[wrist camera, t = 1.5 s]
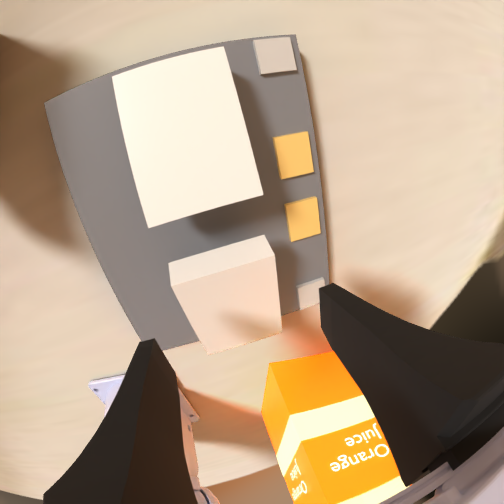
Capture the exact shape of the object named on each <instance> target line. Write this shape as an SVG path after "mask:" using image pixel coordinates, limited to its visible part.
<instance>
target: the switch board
mask: <svg viewBox="0 0 504 504" xmlns="http://www.w3.org/2000/svg"><path fill="white" fill-rule="evenodd" d="M223 46H224V49H225V53H226V56H227V60H228V63H229V67H230V70H231V74H232V77H233V81H234V85H235V88H236V92H237V95H238V99H239V103H240V106H241V110H242V114H243V117H244V121H245V125H246V129H247V132H248V136H249V140H250V144H251V148H252V152H253V155H254V159H255V163H256V167H257V171H258V175H259V179H260V183H261V187H262V191H263V195H261V196H257V197H254V198H250V199H246V200H243V201H239V202H235V203H232V204H228V205H224V206H221V207H217V208H214V209H210V210H207V211H204V212H200V213H197V214H193V215H190V216H187V217H183V218H180V219H177V220H174V221H170V222H167V223H164V224H161V225H157V226H154V227H151V228H148V225H147V222H146V219H145V216H144V212H143V209H142V205H141V202H140V198H139V195H138V191H137V188H136V184H135V180H134V176H133V173H132V169H131V165H130V161H129V157H128V153H127V148H126V144H125V140H124V135H123V131H122V126H121V122H120V117H119V112H118V107H117V102H116V97H115V91H114V86H113V80H112V76H115V75H117V74H120V73H123V72H126V71H129V70H132V69H135V68H138V67H141V66H144V65H147V64H150V63H154V62H157V61H161V60H164V59H168V58H172V57H176V56H180V55H184V54H188V53H192V52H197V51H202V50H207V49H212V48H217V47H223ZM44 105H45V110H46V114H47V118H48V122H49V126H50V130H51V133H52V137H53V141H54V144H55V148H56V151H57V154H58V158H59V161H60V164H61V167H62V170H63V173H64V176H65V179H66V182H67V185H68V188H69V191H70V193H71V196H72V199H73V201H74V204H75V207H76V209H77V212H78V214H79V217H80V219H81V222H82V224H83V227H84V229H85V231H86V234H87V236H88V238H89V241H90V243H91V245H92V248H93V250H94V252H95V254H96V256H97V259H98V261H99V263H100V265H101V267H102V269H103V271H104V273H105V275H106V277H107V279H108V281H109V283H110V285H111V287H112V289H113V291H114V293H115V295H116V297H117V299H118V301H119V302H120V304H121V306H122V308H123V310H124V312H125V313H126V315H127V317H128V319H129V321H130V322H131V324H132V326H133V328H134V329H135V331H136V333H137V334H138V336H139V338H140V339H141V341H146V340H149V339H153V338H155V340H156V341H157V343H158V345H159V347H160V348H161V350H162V351H163V350H167V349H171V348H174V347H178V346H182V345H186V344H189V343H193V342H197V341H200V340H199V338H198V336H197V335H196V333H195V331H194V329H193V327H192V326H191V324H190V322H189V320H188V318H187V316H186V314H185V312H184V311H183V309H182V307H181V305H180V303H179V301H178V299H177V297H176V295H175V293H174V291H173V289H172V287H171V282H170V274H169V265H168V263H170V262H173V261H176V260H180V259H183V258H186V257H190V256H193V255H196V254H200V253H203V252H206V251H210V250H213V249H217V248H220V247H223V246H227V245H230V244H234V243H237V242H240V241H244V240H247V239H251V238H254V237H257V236H261V235H265V237H266V239H267V241H268V243H269V245H270V247H271V249H272V251H273V253H274V255H275V262H276V271H277V281H278V291H279V301H280V312H281V316H282V315H285V314H288V313H291V312H294V311H297V310H299V309H300V310H302V309H305V308H308V307H310V306H313V305H316V304H319V303H320V301H319V288H321V287H323V286H326V285H329V269H328V254H327V241H326V229H325V218H324V208H323V198H322V189H321V180H320V172H319V164H318V157H317V149H316V142H315V135H314V129H313V122H312V116H311V110H310V104H309V99H308V93H307V88H306V82H305V77H304V72H303V67H302V62H301V57H300V52H299V48H298V43H297V39H296V35H279V36H267V37H257V38H249V39H241V40H234V41H228V42H222V43H216V44H211V45H206V46H201V47H196V48H191V49H187V50H183V51H179V52H175V53H171V54H167V55H163V56H160V57H156V58H153V59H149V60H146V61H143V62H140V63H137V64H134V65H131V66H128V67H125V68H122V69H119V70H116V71H114V72H111V73H108V74H106V75H103V76H101V77H98V78H96V79H93V80H91V81H89V82H86V83H84V84H82V85H79V86H77V87H75V88H73V89H71V90H68V91H66V92H64V93H62V94H60V95H58V96H56V97H54V98H52V99H50V100H48V101H46V102H45V103H44Z"/></svg>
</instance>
